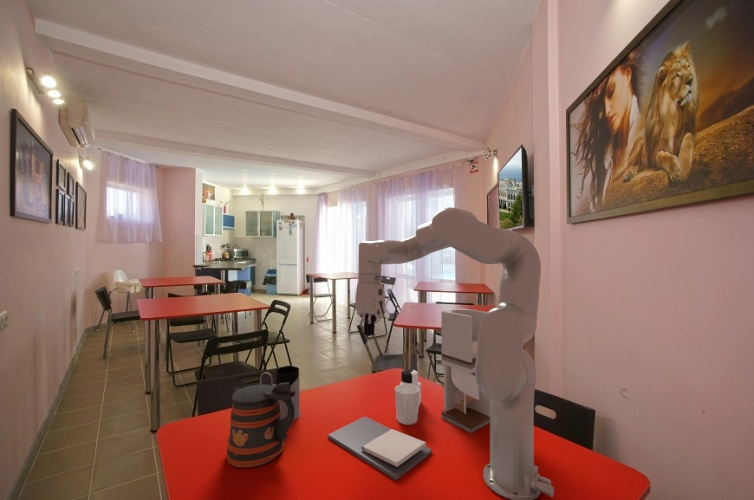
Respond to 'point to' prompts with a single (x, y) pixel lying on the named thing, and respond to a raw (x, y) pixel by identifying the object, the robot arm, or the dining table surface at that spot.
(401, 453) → the tile
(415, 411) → the white cup
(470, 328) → the white tiered shelf stand
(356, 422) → the base
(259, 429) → the beer stein
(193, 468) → the dining table surface
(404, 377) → the medicine bottle
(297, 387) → the glass holder
